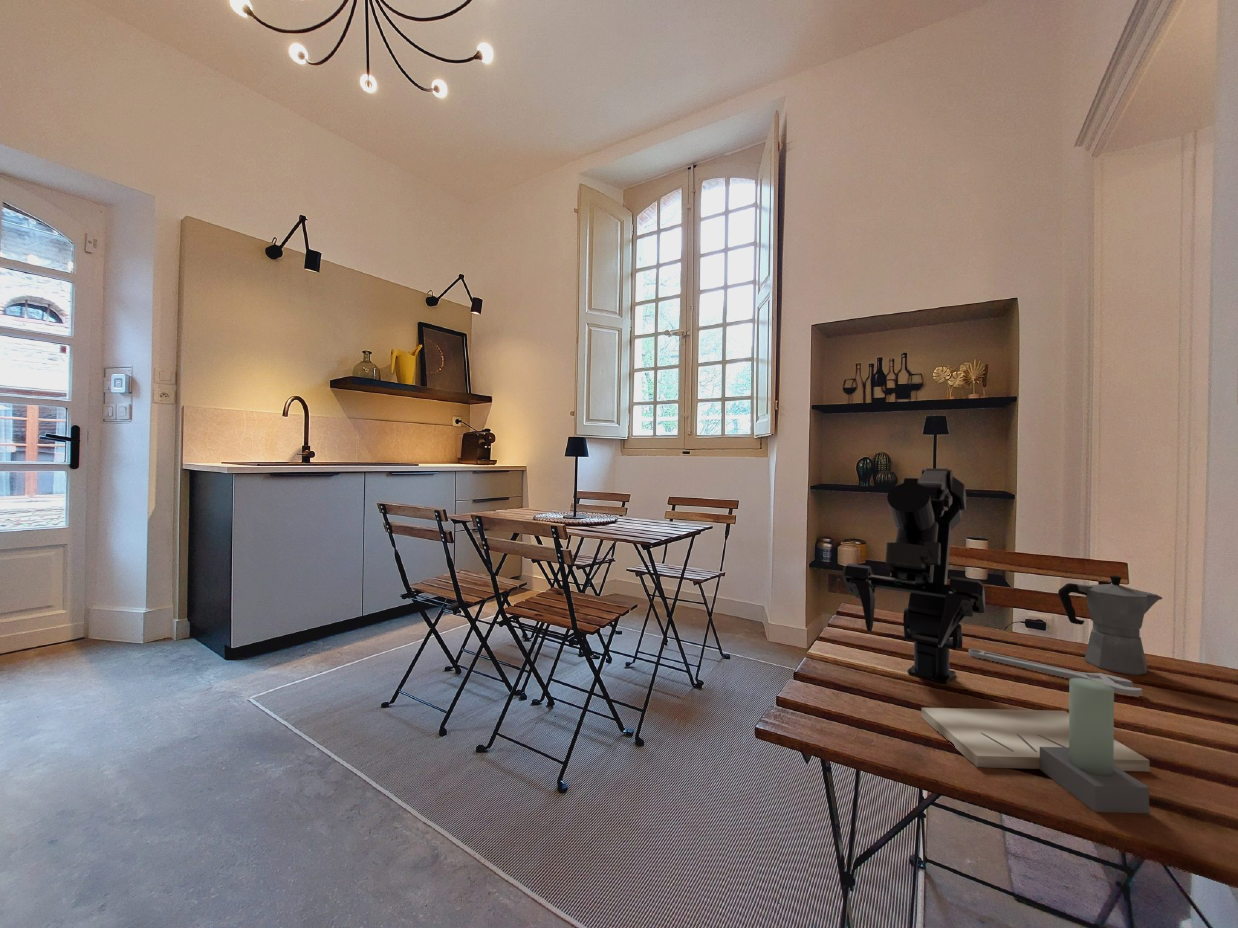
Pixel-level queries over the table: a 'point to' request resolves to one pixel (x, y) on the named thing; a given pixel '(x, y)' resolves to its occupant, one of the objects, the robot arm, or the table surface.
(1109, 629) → the coffeepot
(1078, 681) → the block
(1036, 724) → the birch board
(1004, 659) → the adjustable wrench
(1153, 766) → the table surface
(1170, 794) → the table surface
